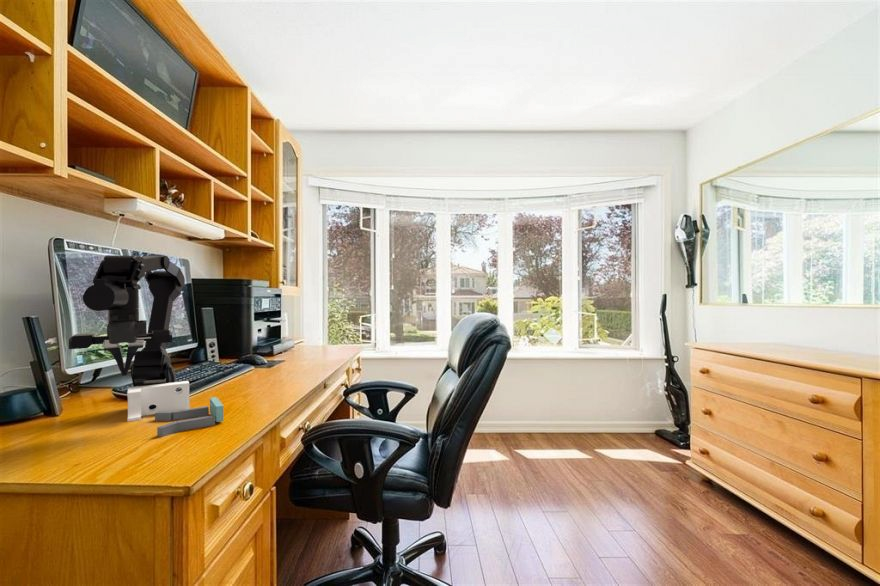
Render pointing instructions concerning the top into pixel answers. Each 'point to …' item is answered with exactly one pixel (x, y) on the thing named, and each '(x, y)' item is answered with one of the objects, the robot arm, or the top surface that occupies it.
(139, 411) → the bracket
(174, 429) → the guide dock
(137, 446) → the top surface
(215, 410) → the end stop
